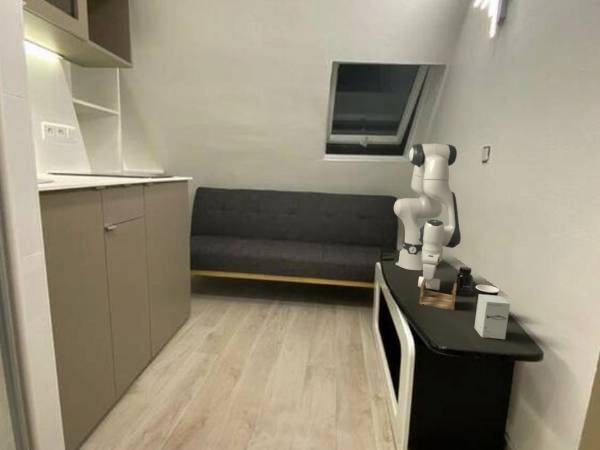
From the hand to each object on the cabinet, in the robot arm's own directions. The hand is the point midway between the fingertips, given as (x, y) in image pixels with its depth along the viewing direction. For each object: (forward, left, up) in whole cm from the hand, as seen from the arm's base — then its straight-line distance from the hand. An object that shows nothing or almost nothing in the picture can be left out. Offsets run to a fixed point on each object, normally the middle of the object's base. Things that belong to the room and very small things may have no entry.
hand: (429, 284), depth 159 cm
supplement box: (+38, +23, -2) cm, 44 cm away
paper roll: (0, 0, +1) cm, 1 cm away
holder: (+17, +5, -2) cm, 18 cm away
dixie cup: (+22, +22, -2) cm, 31 cm away
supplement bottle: (0, +14, -2) cm, 14 cm away
